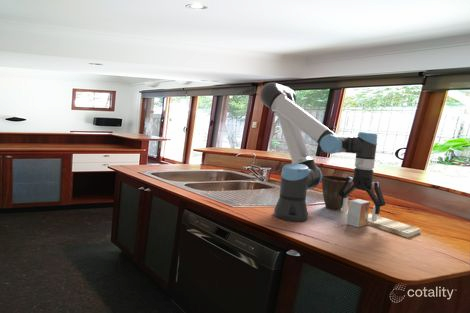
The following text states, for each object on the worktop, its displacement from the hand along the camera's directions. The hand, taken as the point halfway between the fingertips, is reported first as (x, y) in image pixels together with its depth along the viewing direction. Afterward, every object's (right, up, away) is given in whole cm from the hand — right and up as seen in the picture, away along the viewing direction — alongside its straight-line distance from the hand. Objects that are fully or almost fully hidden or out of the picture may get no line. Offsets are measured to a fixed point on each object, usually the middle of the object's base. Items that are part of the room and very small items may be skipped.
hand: (358, 216), depth 125 cm
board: (+13, -5, +1) cm, 13 cm away
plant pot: (-3, -1, +24) cm, 24 cm away
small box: (0, -4, +1) cm, 4 cm away
